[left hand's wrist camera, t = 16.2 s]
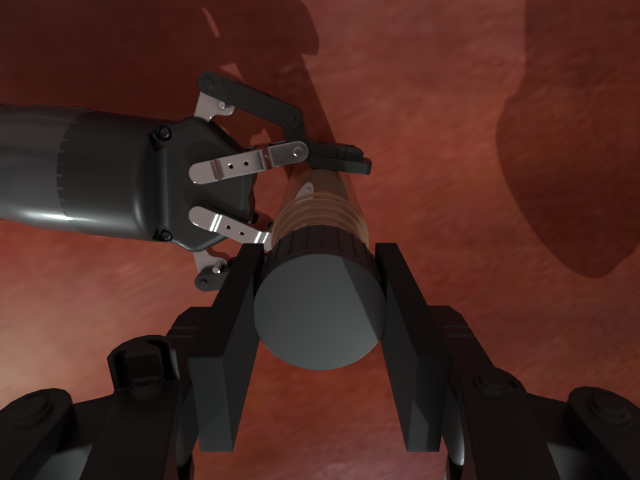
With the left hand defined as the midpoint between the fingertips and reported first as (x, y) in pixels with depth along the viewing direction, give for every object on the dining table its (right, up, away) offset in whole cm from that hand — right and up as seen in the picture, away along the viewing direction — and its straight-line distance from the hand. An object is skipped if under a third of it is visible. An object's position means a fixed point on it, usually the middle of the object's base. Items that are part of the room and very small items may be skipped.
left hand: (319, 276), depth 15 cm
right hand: (+3, +3, +10) cm, 11 cm away
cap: (0, 0, 0) cm, 0 cm away
